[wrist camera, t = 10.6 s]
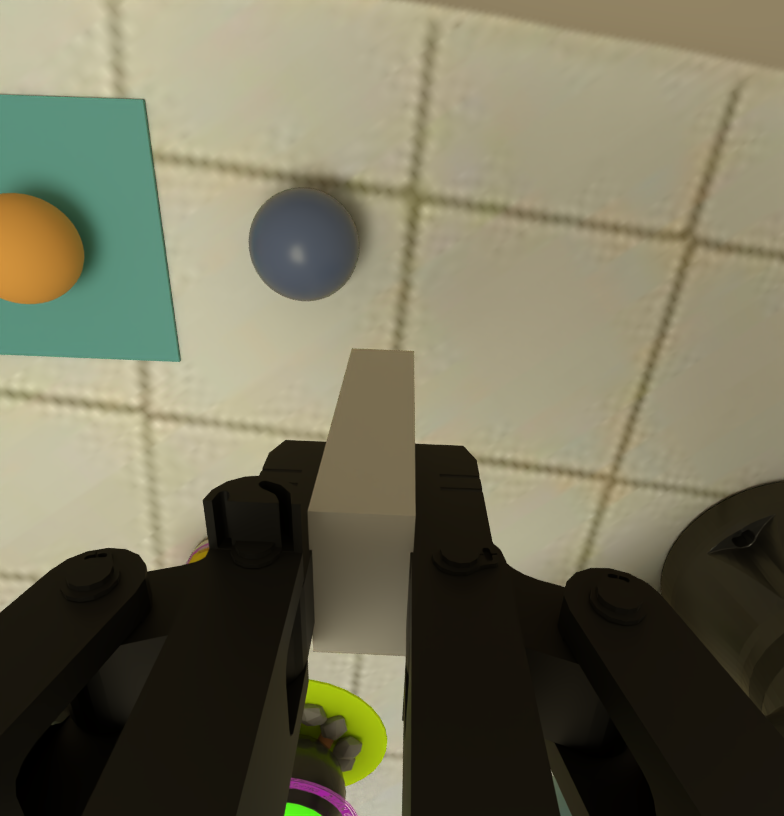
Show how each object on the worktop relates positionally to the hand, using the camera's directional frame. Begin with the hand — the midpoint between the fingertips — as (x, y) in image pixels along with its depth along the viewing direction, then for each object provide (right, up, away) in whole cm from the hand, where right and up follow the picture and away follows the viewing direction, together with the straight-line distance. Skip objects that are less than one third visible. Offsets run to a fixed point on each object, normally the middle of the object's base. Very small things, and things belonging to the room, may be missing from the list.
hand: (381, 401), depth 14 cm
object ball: (-19, +8, +15) cm, 25 cm away
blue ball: (-4, +8, +15) cm, 17 cm away
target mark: (-19, +9, +18) cm, 28 cm away
